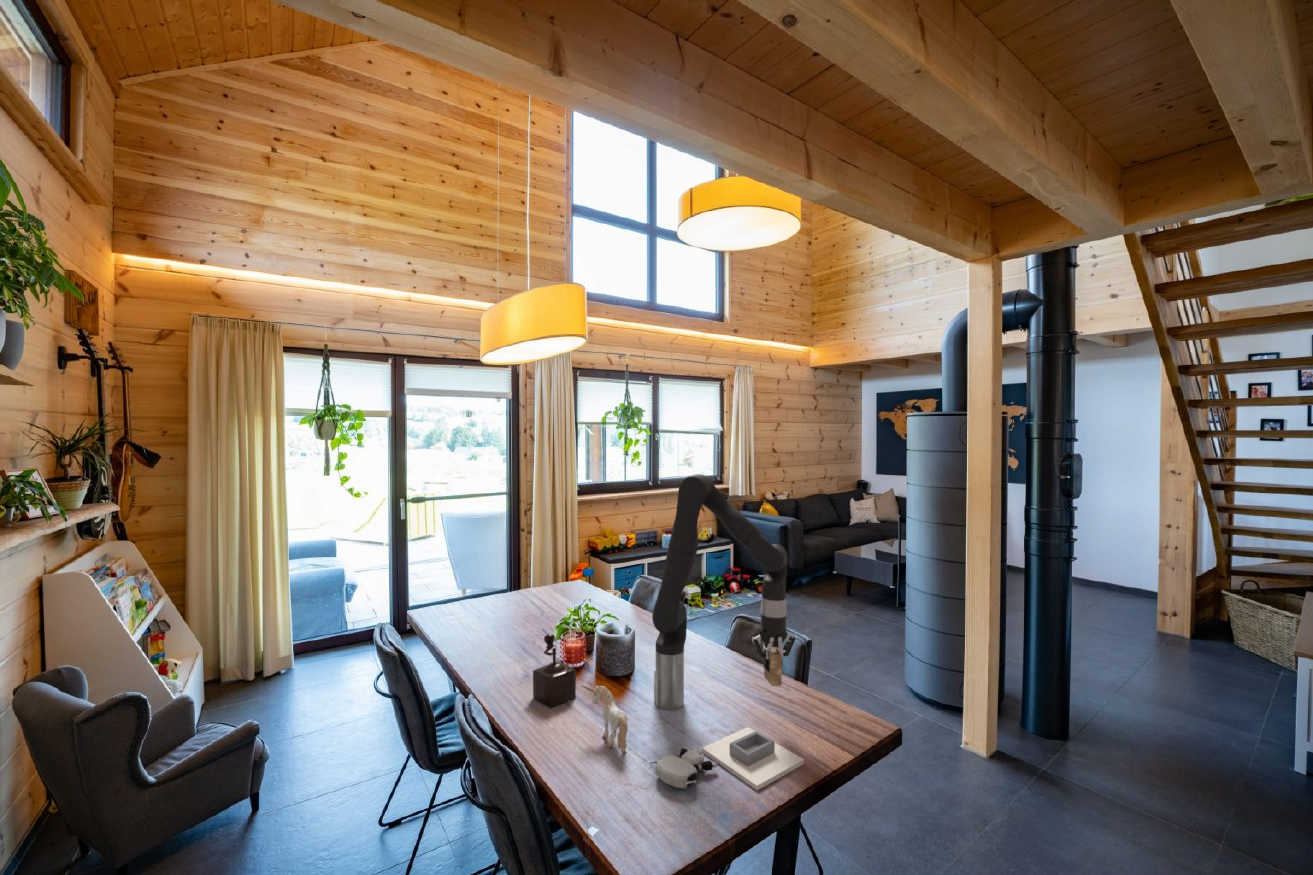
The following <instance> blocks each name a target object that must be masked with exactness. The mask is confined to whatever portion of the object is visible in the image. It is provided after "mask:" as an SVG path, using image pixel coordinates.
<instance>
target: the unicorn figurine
mask: <svg viewBox="0 0 1313 875" xmlns="http://www.w3.org/2000/svg"><path fill="white" fill-rule="evenodd" d="M580 687H581V688H584V689H586V690H588V691H590V692H591V693H593V696H592V700H591V702H592V703H593V705H596V704H598V702H599V699H601V698H602V699H603V702H604V705H603V709H602V715H603V719H604V720H603V721H604V733H603V735H602V738H603V739H605V738H606V740H608V739H609V740H608V748H610V749H612V748H613V747H614V740H615V739H616V734H617V749H618V750H621V751H623V752H625V751H626V750H627V749H626V748H627V746H628V744H627V742H626V741H627V740H626V739H627V733H628V716H627V714H626V713H625V712H624V711H623V710H621V709H620V708H618V706H617V701H616V700H615V697H614V694H613V693H612V692H611V691H610V690H609V689H608V688H607V687H606V686H604V685H595V687H594V688H591V687H588V686H585V685H583V684H580ZM609 723H610V727H611V737H610V738H609V734H610V731H609V730H608V726H609ZM617 729H618V730H619V731H618V733H617Z"/></svg>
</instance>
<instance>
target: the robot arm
mask: <svg viewBox="0 0 1313 875" xmlns="http://www.w3.org/2000/svg"><path fill="white" fill-rule="evenodd" d="M676 501H677V504H676V510H675V517H674V522H673V526H672V530H671V535H670V538H669V543H668V548H667V552H666V557H665V564H664V568H663V574H662V579H661V584H660V588H659V592H658V596H657V597H656V601H655V605H654V608H653V611H652V615H651V616H652V619H651V620H652V623H653V626H654V628H655V629H656V630H657V631H658V632H659V633H658V636H657V639H656V640H655V670H654V673H653V701H654V703H655V707H656V709H662V710H666V711H667V710H668V711H670V710H671V711H673V710H678V709H680V708H682V707H683V706H684V702H685V682H684V681H685V643H686V641H687V640H686V639H687V630H688V629H687V625H688V622H687V621H688V616H687V615H688V614H687V613H688V612H687V608H686V606H685V604H684V603H683V601H681V599H682V595H683V592H684V590H685V587H686V584H687V582H688V581H689V579H690V577H691V574H692V572H693V569H694V566H695V562H696V558H697V554H698V547H699V535H698V533H699V532H698V520H699V517H700V513H701V509H702V506H704V507H705V508H706V509H708V510H709V511H710V512H712V513H713V514H714V515H715V516H716V518H718V520H719V522H721V524H722V525H723V527H724V528H725V529H726V530H727V531H728V533H729V535H731V536H732V537H733V538H734V539H736V541H737V542H739V543H740V544H741V545H742V546H743V547H744V548H745V549H746V550H748V552H749V553H750V555H752V557H753V558H754V559H755V561H757V563H758V564H759V565H760V566H761V567H763V568H764V576H763V579H762V582H761V583H762V585H761V601H760V631H759V633H758V635H756V636H751V637H750V639H751V642H752V645H753V646H754V648H755V651H756V653H757V655H758V656H759V657H760V658H763V659H762V660H763V661H762V662H763V663H762V664H763V665H762V666H763V669H764V668H765V669H766V671H770V659H769V658H770V652H771V651H772V647H774V648H775V649H776V650H777V651H778V652H779V653H780V654H781V655H782V660H783V658H784V657H788V656H789V655H790V653H791V651H792V649H793V647H794V644H795V641H796V637H795V636H793V635H792V634H790V633H789V634H788V632H787V601H786V600H787V599H786V598H787V596H786V594H787V592H786V590H787V589H786V586H787V584H786V582H787V581H786V578H787V572H788V561H789V560H788V558H789V557H788V552H787V550H786V548H785V547H784V546H782V545H781V544H776V543H774V544H772V543H771V542H770V541H769V540H768V539H766V538H765V536H764V533H763V531H761V529H759V527H757V525H755V524H754V523H753V522H752V521H750V520H749V519H748V518H747V517H746V516H744V514H742V513H741V512H740V511H739V510H738V509H737V508H736V507H735V506H734V505H733V504H732V503H730V501H728V499H726V497H725V496H724V495H723V494H722V493H721V492H720V490H719V489H718V488H717V487H716V485H715V484H714V483H713V482H712V481H711V480H710V478H708V476H706V475H704V474H701V473H696V474H692V475H688V476H686V477H684V478H683V479H682V480H681V482H680V484H679V486H678V494H677V500H676ZM761 641H762V643H763V646H761V645H760V644H761ZM784 642H785V643H784ZM783 643H784V645H783ZM761 647H762V648H763V649H762V648H761Z"/></svg>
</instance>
